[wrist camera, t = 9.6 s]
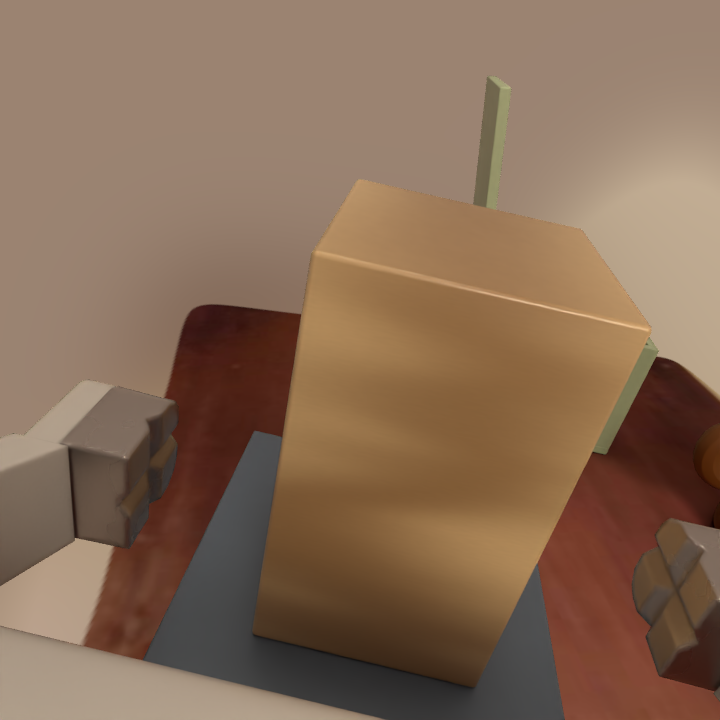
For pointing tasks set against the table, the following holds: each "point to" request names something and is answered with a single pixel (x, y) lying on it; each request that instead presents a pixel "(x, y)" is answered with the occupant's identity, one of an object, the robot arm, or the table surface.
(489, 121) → the box lid
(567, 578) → the table surface
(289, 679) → the block
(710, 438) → the mug
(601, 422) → the block
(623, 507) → the table surface
